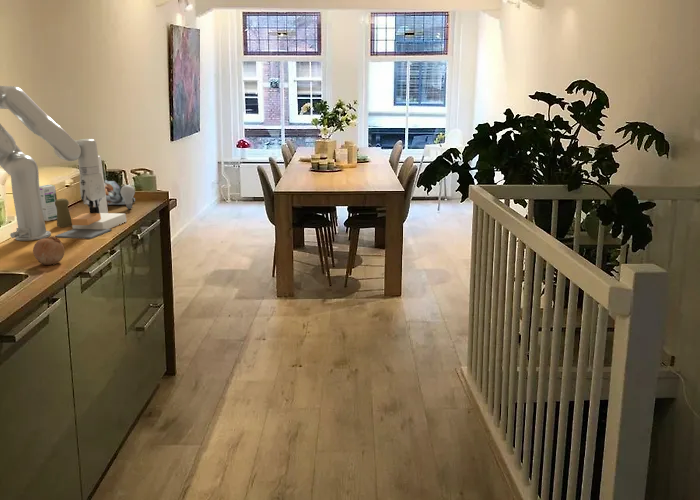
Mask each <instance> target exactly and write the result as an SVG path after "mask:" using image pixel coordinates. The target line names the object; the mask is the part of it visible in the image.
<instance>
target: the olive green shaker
mask: <svg viewBox="0 0 700 500" xmlns="http://www.w3.org/2000/svg"><path fill="white" fill-rule="evenodd" d="M69 204H70V202H69V200H68V199H67V198H57V200H56V201H55V206H56V207H57V219H56V226H57V228H67V227H72V222H71V219H72V217H71V214H70V210H69Z"/></svg>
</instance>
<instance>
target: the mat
mask: <svg viewBox="0 0 700 500" xmlns="http://www.w3.org/2000/svg"><path fill="white" fill-rule="evenodd" d="M109 232H112V228H110V229H73V228H71V229H70V230H67V231H64V232H61V233H59V234H55V235H54V236H55V237H57V238H58V239H61V238H63V239H64V238H65V239H66V238H67V239H89V240H90V239H94V238H96V237H99V236H102V235H103V234H107V233H109Z"/></svg>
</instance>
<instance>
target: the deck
mask: <svg viewBox="0 0 700 500" xmlns="http://www.w3.org/2000/svg"><path fill="white" fill-rule="evenodd" d="M100 216H101V219H100V220H98V221H96V222H94V223H92V224H90V225H72V226H71V227H72V229H112V228H115V227H117V226H120V225H123V224H125V223H127V215H126V213H119V212H118V213H117V212H108V213H100ZM124 222H125V223H124ZM122 223H123V224H122ZM119 224H120V225H119Z"/></svg>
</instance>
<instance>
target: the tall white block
mask: <svg viewBox="0 0 700 500" xmlns="http://www.w3.org/2000/svg"><path fill="white" fill-rule="evenodd" d="M98 161H99V169H100V173H101V175H102V179H103V183H104V181H105V179H104V170H103V165H102V163H103V162H102V157H101V155H98ZM104 189H105V185H104ZM98 207H99V213H109V210H108V203H107V200H106V193H105V196H104V197H103V198H102V200H101V201H100V202H99V206H98Z"/></svg>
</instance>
